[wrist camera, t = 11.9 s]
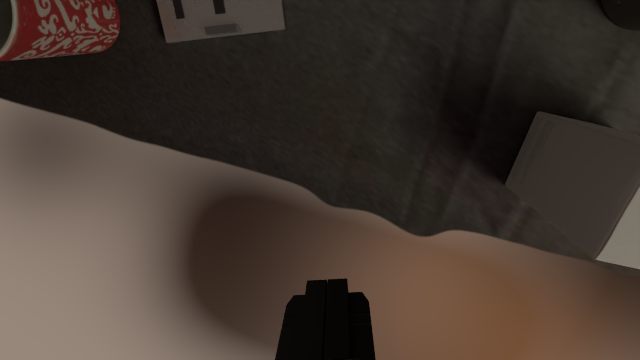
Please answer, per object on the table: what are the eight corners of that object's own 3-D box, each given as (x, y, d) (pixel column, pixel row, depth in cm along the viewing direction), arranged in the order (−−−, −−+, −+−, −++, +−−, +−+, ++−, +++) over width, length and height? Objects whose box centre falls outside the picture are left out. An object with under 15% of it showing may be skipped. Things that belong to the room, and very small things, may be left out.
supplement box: (501, 186, 39) (590, 262, 25) (535, 109, 36) (658, 147, 22) (577, 203, 40) (706, 287, 26) (617, 128, 36) (791, 178, 22)
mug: (90, -57, 33) (-64, -122, 20) (148, 34, 36) (42, 27, 23) (-1, 10, 35) (-188, -10, 23) (58, 91, 38) (-80, 112, 26)
